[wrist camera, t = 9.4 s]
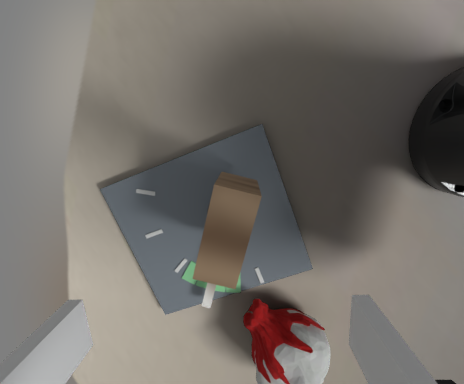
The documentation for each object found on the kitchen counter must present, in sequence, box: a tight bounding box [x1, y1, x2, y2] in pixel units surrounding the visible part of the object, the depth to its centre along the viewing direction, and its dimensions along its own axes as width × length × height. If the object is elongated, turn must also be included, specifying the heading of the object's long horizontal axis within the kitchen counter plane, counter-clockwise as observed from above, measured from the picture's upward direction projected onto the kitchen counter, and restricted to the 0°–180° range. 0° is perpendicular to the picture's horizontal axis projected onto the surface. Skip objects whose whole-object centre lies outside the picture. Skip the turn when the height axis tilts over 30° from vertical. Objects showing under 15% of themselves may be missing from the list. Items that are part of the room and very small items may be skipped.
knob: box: [193, 172, 262, 308], centre depth 27 cm, size 18×5×10 cm, turn 166°
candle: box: [243, 299, 330, 384], centre depth 32 cm, size 9×11×15 cm
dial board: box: [100, 124, 313, 315], centre depth 32 cm, size 22×20×1 cm
